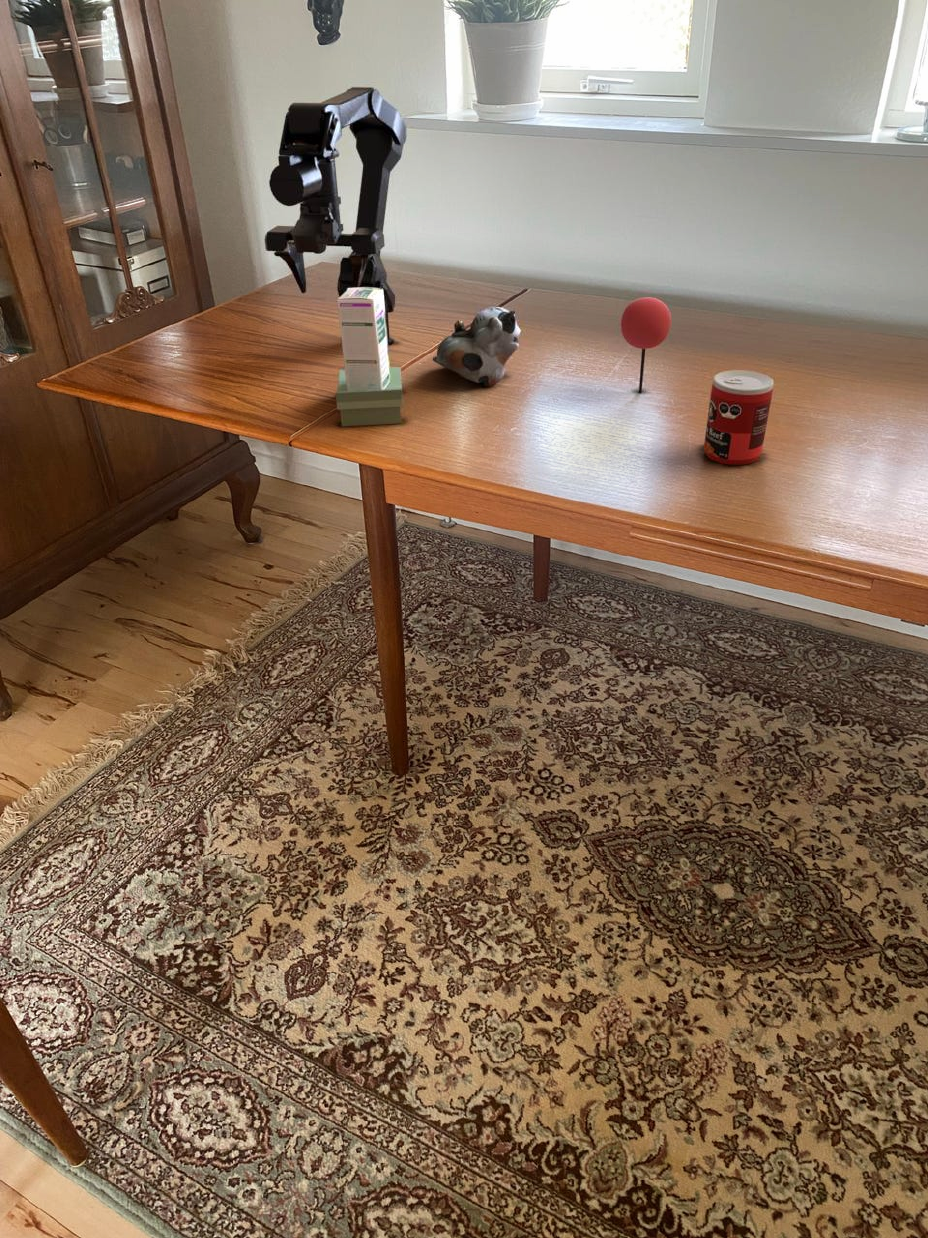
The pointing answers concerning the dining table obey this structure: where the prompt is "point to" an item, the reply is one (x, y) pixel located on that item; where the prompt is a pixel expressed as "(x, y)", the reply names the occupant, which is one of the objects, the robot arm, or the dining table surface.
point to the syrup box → (364, 338)
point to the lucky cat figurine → (481, 346)
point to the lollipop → (645, 325)
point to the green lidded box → (370, 402)
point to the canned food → (737, 416)
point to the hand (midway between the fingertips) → (330, 293)
